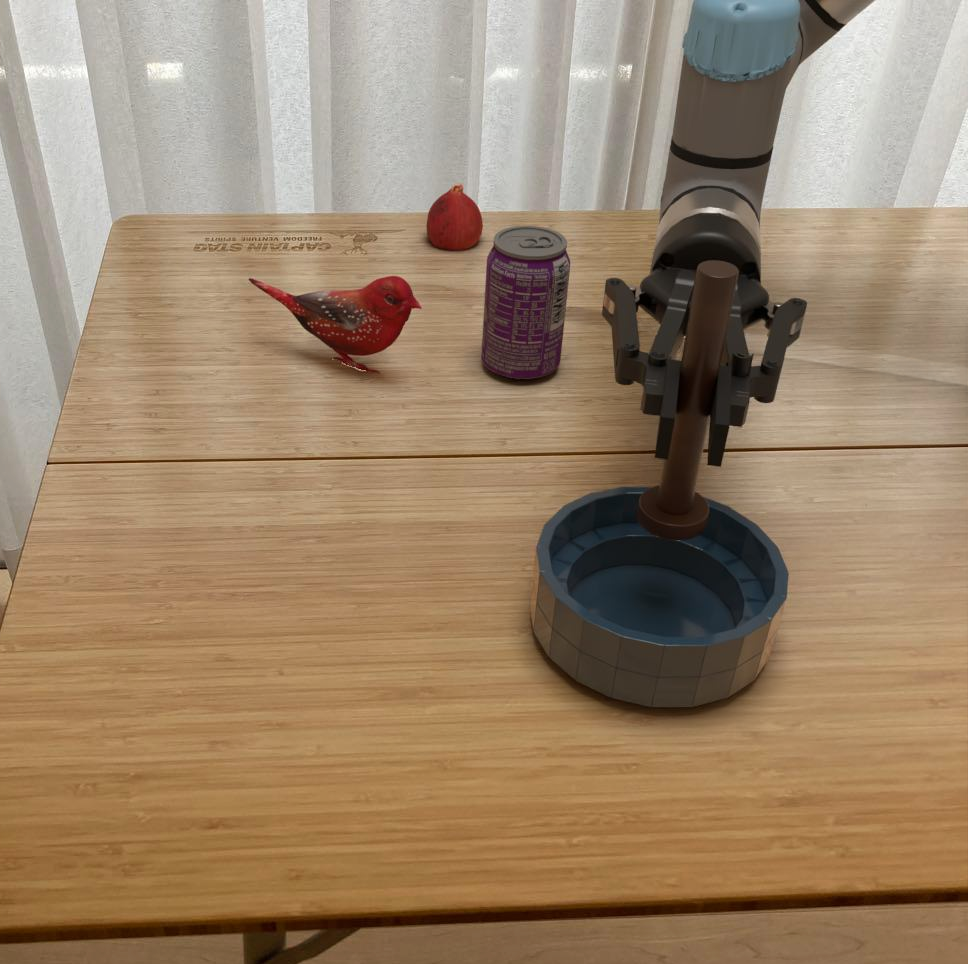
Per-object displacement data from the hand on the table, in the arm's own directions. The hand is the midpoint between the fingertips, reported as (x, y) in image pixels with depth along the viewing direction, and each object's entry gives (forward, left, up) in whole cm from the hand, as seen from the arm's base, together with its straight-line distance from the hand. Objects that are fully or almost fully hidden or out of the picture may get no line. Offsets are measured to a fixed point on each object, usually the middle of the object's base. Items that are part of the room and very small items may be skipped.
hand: (691, 441), depth 61 cm
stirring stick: (0, -5, -10) cm, 11 cm away
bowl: (0, -3, -17) cm, 17 cm away
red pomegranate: (+28, -54, -17) cm, 63 cm away
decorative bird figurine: (+32, -29, -17) cm, 47 cm away
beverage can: (+16, -34, -17) cm, 41 cm away
